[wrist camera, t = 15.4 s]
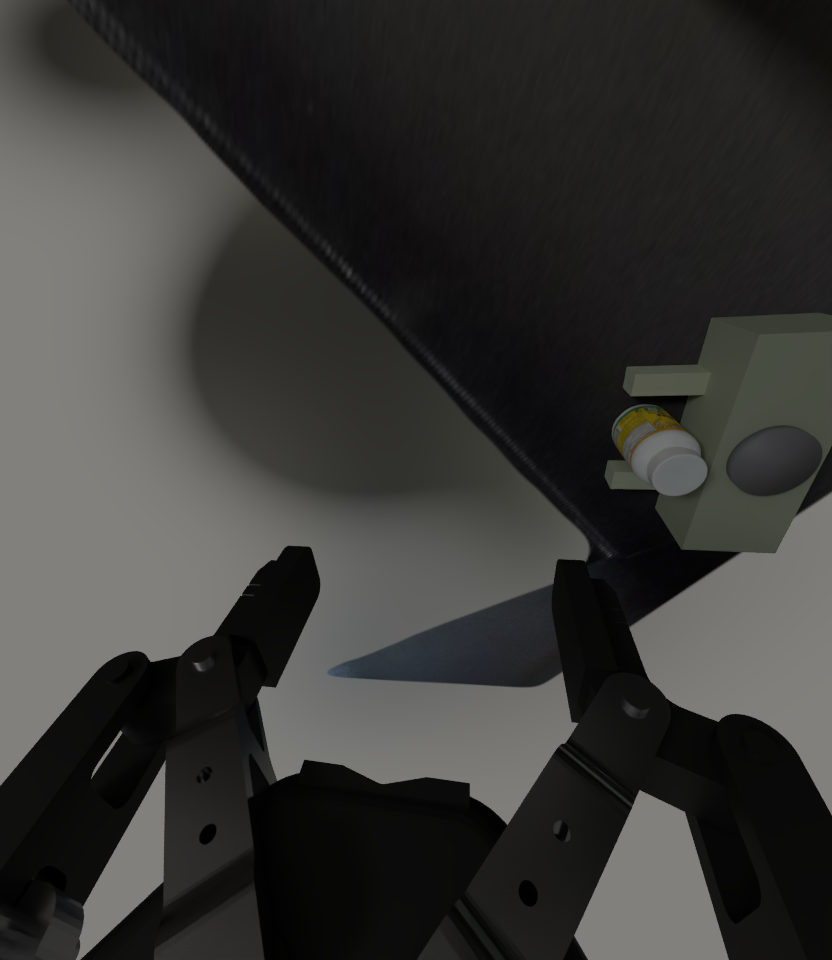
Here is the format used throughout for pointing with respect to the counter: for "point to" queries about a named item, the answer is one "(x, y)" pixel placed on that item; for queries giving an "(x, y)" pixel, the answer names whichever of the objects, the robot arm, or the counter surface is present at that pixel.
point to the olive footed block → (745, 428)
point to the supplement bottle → (659, 450)
